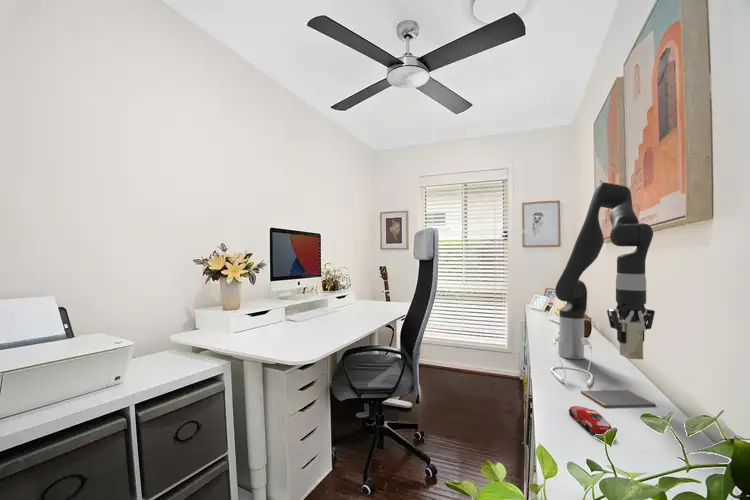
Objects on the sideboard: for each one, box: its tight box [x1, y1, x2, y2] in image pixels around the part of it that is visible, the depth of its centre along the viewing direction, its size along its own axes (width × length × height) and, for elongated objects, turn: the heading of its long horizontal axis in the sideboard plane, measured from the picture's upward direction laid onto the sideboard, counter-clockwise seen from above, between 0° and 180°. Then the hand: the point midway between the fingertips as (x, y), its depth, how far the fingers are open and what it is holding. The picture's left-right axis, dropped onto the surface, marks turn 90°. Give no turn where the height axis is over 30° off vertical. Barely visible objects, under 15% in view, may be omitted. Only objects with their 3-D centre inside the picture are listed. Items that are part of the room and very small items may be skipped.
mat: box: [580, 389, 656, 408], centre depth 103 cm, size 10×16×1 cm, turn 93°
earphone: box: [550, 334, 594, 387], centre depth 122 cm, size 14×17×18 cm
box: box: [619, 320, 644, 360], centre depth 103 cm, size 5×4×11 cm
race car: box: [568, 405, 612, 435], centre depth 88 cm, size 13×5×4 cm, turn 176°
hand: (630, 342), depth 103 cm, fingers closed on box, 5 cm apart
